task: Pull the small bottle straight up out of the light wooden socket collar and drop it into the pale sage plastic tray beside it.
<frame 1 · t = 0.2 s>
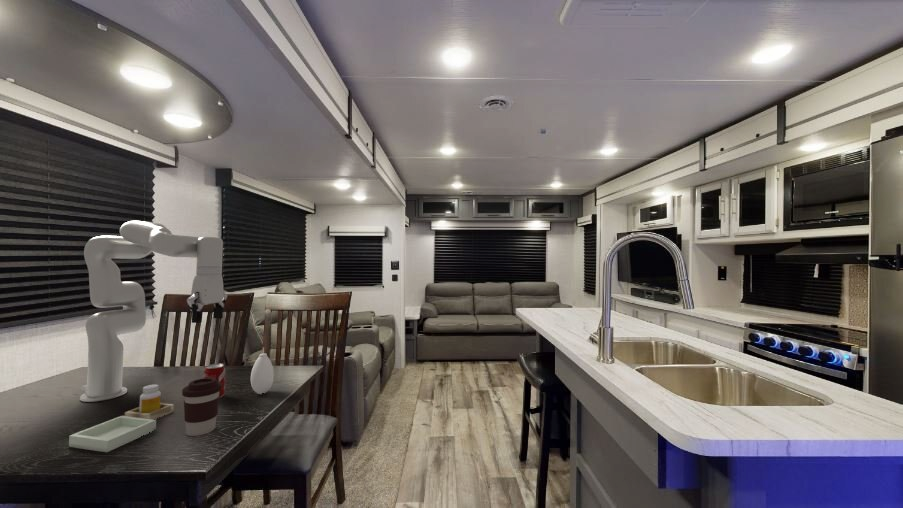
hand: (207, 320, 125), 31 cm above the table, tool pointing down, fingers open, 9 cm apart
sauce bottle: (261, 393, 139), on the table
supplement bottle: (149, 416, 117), resting in socket collar
socket collar: (149, 415, 117), on the table
soda can: (213, 398, 133), on the table
tray: (114, 437, 102), on the table
coffee cup: (200, 431, 107), on the table
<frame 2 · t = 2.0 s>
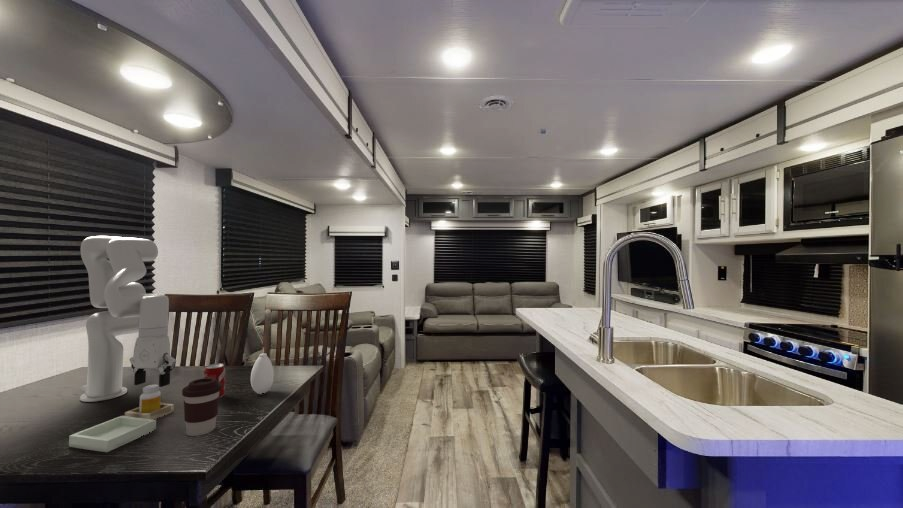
hand: (152, 384, 117), 10 cm above the table, tool pointing down, fingers open, 9 cm apart
nothing on the table moved.
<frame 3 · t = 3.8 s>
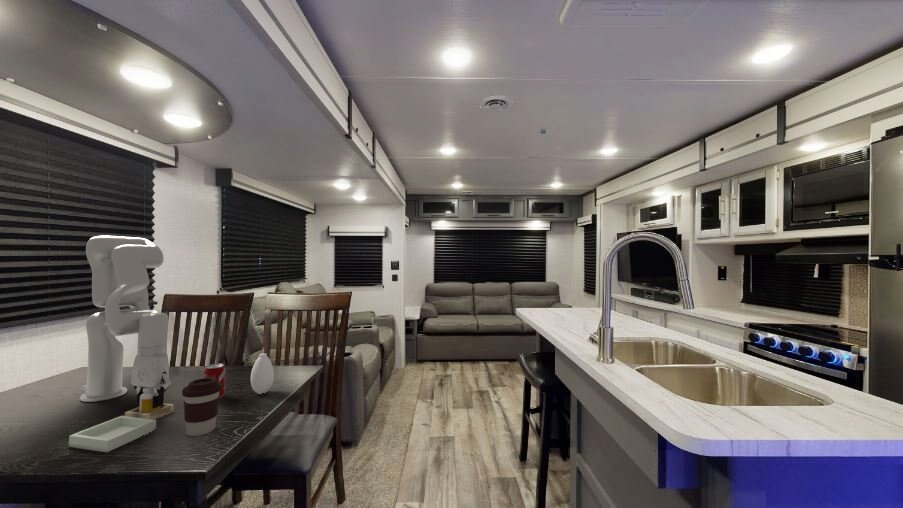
hand: (150, 405, 117), 4 cm above the table, tool pointing down, fingers closed on supplement bottle, 5 cm apart
supplement bottle: (149, 416, 117), resting in socket collar, touching gripper
everything else where it was.
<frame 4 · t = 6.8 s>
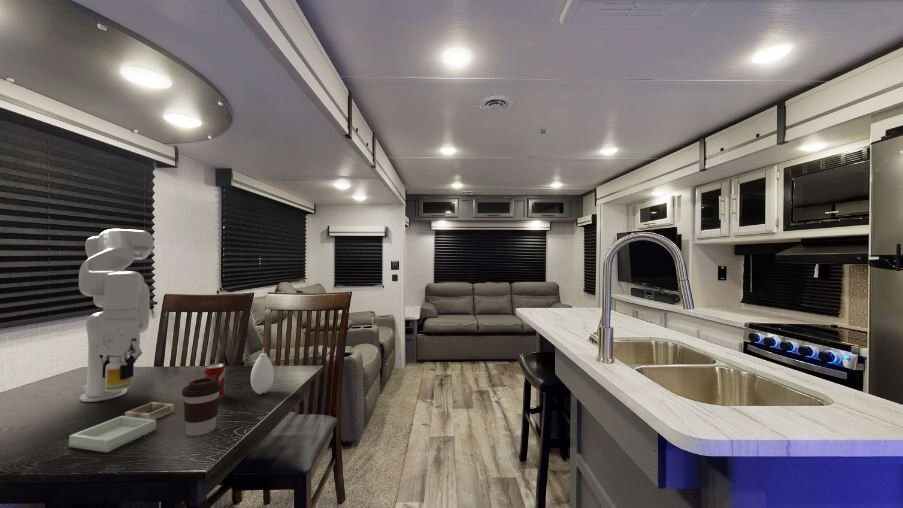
hand: (117, 376, 103), 17 cm above the table, tool pointing down, fingers closed on supplement bottle, 5 cm apart
supplement bottle: (117, 389, 103), point 14 cm above the table, touching gripper
everything else where it was.
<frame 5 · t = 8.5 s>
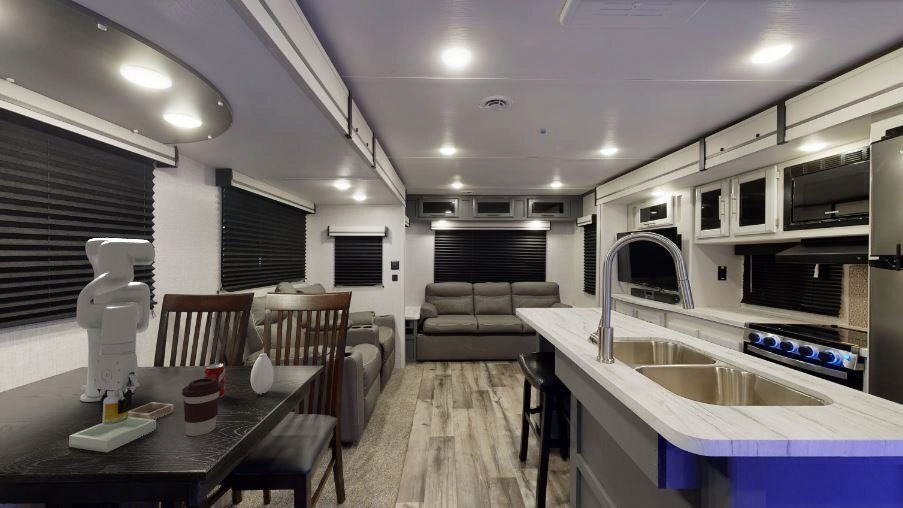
hand: (115, 410, 102), 8 cm above the table, tool pointing down, fingers closed on supplement bottle, 5 cm apart
supplement bottle: (115, 423, 102), point 4 cm above the table, touching gripper
everything else where it was.
when the fingers open (6 cm above the table, at t = 9.8 s): supplement bottle drops 1 cm, resting on tray.
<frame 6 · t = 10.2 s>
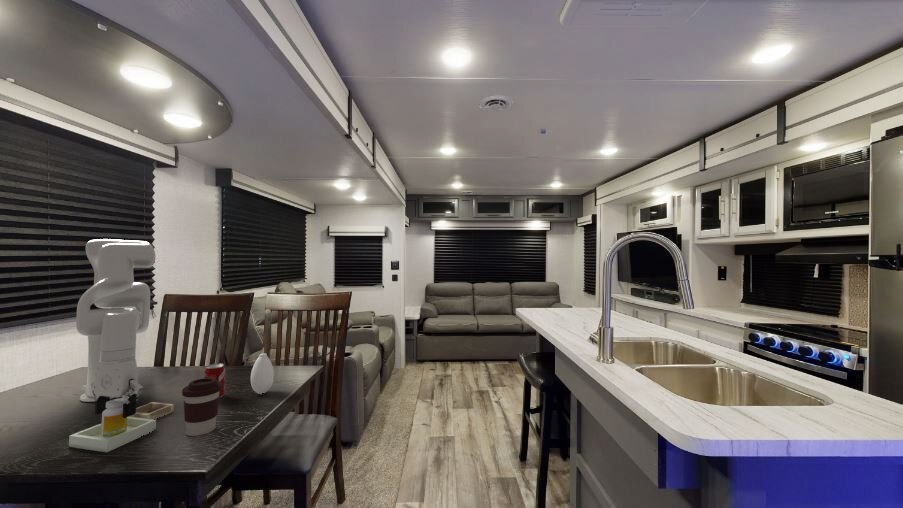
hand: (115, 414, 102), 7 cm above the table, tool pointing down, fingers open, 9 cm apart
supplement bottle: (113, 435, 102), point 1 cm above the table, touching tray
everything else where it was.
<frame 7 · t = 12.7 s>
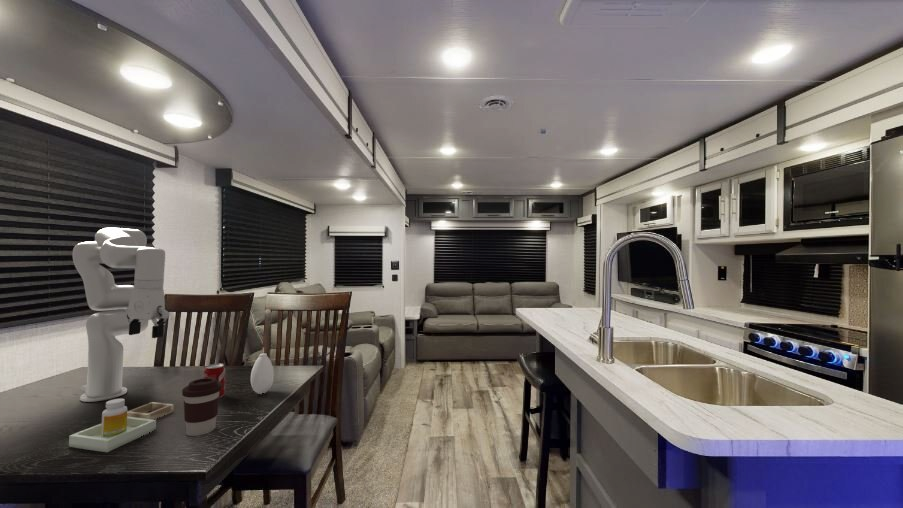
hand: (145, 335, 119), 26 cm above the table, tool pointing down, fingers open, 9 cm apart
nothing on the table moved.
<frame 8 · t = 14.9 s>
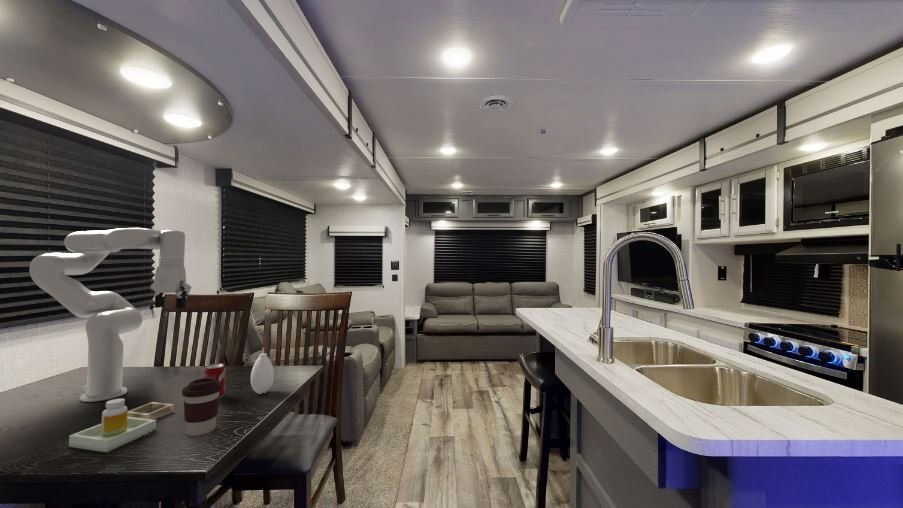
hand: (169, 307, 135), 33 cm above the table, tool pointing down, fingers open, 9 cm apart
nothing on the table moved.
at the end: supplement bottle inside the target area on the tray (0.4 cm from its centre), point 0.6 cm above the tray's base; the gripper is holding nothing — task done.
